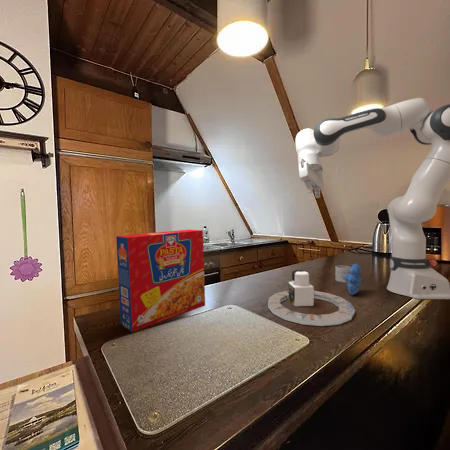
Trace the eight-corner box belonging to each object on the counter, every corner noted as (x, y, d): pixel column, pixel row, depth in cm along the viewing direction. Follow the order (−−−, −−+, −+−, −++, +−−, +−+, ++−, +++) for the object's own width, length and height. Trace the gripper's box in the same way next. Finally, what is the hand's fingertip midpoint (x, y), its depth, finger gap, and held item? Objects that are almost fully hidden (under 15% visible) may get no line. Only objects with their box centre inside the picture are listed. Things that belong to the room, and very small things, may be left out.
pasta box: (132, 333, 73) (127, 237, 71) (120, 324, 78) (116, 236, 77) (205, 305, 93) (202, 230, 91) (191, 300, 98) (189, 229, 97)
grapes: (347, 287, 109) (347, 260, 108) (365, 291, 104) (365, 262, 103) (338, 295, 100) (338, 265, 99) (356, 298, 95) (357, 267, 95)
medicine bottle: (288, 299, 96) (288, 268, 96) (306, 299, 97) (306, 268, 96) (294, 306, 89) (293, 273, 88) (314, 306, 89) (313, 272, 89)
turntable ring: (344, 296, 98) (344, 291, 98) (364, 329, 71) (364, 323, 71) (271, 292, 105) (271, 287, 105) (264, 321, 78) (264, 315, 78)
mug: (352, 282, 116) (352, 268, 115) (337, 282, 117) (337, 268, 117) (346, 277, 125) (346, 263, 125) (332, 276, 127) (332, 263, 126)
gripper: (308, 154, 99) (313, 186, 96) (323, 169, 115) (328, 198, 112) (292, 159, 103) (297, 191, 100) (309, 174, 119) (314, 201, 116)
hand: (314, 195), depth 106 cm, fingers open, 8 cm apart
